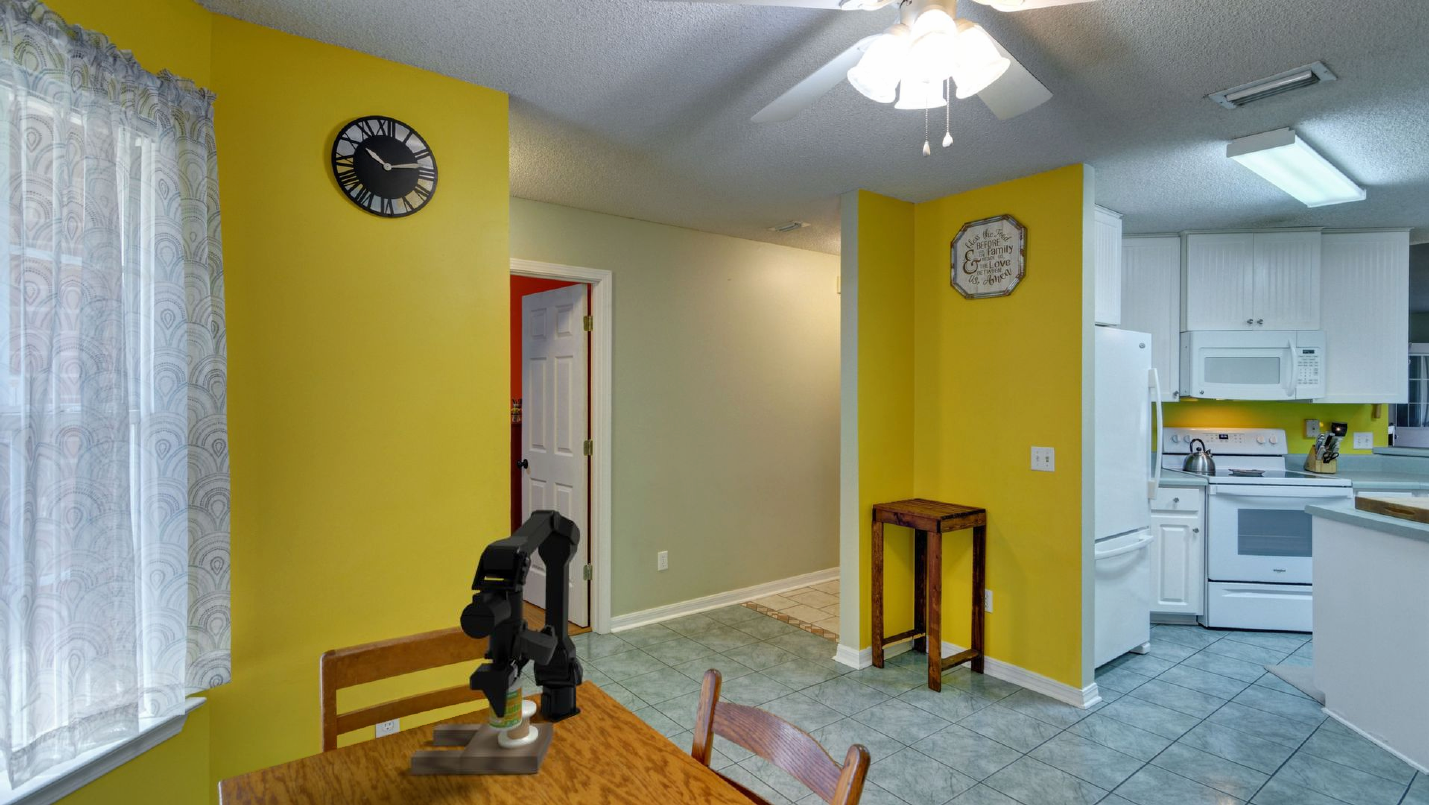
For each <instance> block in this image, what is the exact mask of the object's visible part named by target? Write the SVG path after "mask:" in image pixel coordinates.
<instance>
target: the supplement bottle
mask: <svg viewBox="0 0 1429 805" xmlns="http://www.w3.org/2000/svg"><path fill="white" fill-rule="evenodd" d="M512 666H513V667H514V668H515V676H514V677H517V665H516V664H513V665H512ZM522 700H523V681H522V680H521V677H520V678H519V677H518V678H517V680H516V681H515V682H514V684H513V685H512V686H511V687H510V688H509V691H508V698H507V704H506V710H505V716H504V717H503V718H498V717H497V716H496V714H495V712H494V710H493V708H492V707H491V705H490V703H489V702H488V724H489V726H490V728H491V729H493V730H496V731H507V730H511V729H514V728H516V727H518V726H519V725H520V724H521V722H522Z"/></svg>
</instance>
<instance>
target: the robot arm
mask: <svg viewBox="0 0 1429 805" xmlns="http://www.w3.org/2000/svg"><path fill="white" fill-rule="evenodd" d="M580 531H581V530H580V528H579V527H578V525H577V524H576V522H575V521H573V520H572V519H570V518H568V517H566V516H564V515H562V514H561V513H560V512H559V511H556V509H536V510H533V511H531V514H530V517H528V518H527V520H525V521H524V522H523V524H521V525H520V527H518V528H517V530H515V531H514V533H512V534H511V535H510V536H508V537H506V538H501V539H497V540H495V541H492V542H491V543H489V544H488V545H487V546H486V547H485V548H484V550H483V552H481V555H480V556H479V559H478V564H477V566H476V567H477V568H476V570H475V574H474V577H473V581H472V584H471V587H470V588H471V591H479V592H476V593H473V594H472V597H471V602H470V603H469V604H468V605H467V606H465V607H464V609H463V610H462V611H461V614H460V617H459V623H460V627H461V629H462V631H463V633H464V634H466V636H468V637H469V638H472V639H475V640H481V639H484V638H487V650H486V651H485V652H484V653H483V654H484V656H483V657H484V658H483V660H491V661H492V662H482V663H480V665H479V666H478V667H477V668H476V669H475V670H474V671H473V673H471V675H470V676H469V690H471V691H482V693H483V694H484V696H485V698H486V699H487V701H488V704H489V703H490V705H491V707H492V708H493V710H494V712H495V714H496V716H497V717H498V718H503V717H504V716H505V710H506V704H507V698H508V691H509V688H510V687H511V686H512V685H513V684H514V682H515V681H516V680H517V678H518V677H519V678H520V679H521V674H522V670H523V668H524V667H525V666H526V665H527V664H528V663H529V662H530V660H531V661H534V662H533V666H532V667H533V668H532V669H533V674H534V682H535V687H542V693H540V708H539V709H538V710H537V713H538V714H540V715H541V716H544V717H546V718H547V720H550V721H551V722H552V723H556V722H559V721H562V720H564V719H567V718H569V717H572V716H574V715H577V714H579V713H581V710H582V709H580V708H579V707H577V687H580V686H582V685H583V677H584V668H583V666H582V664H581V662H580V660H579V659H578V657H577V648H576V645H575V643H574V642H573V640H572V639H571V637H570V634H569V612H570V611H569V610H570V608H569V606H570V605H569V604H570V603H569V599H570V596H569V594H570V563H572V561H573V558H574V557H575V555H576V554H577V553H578V549H579V548H578V546H579V543H580V540H581V532H580ZM536 550H537V555H538V556H539V557H540V560H541V561H542V563H543V565H544V566H545V590H544V591H545V592H544V593H545V594H544V596H545V598H544V599H545V602H544V608H545V609H544V626H543V627H542V628H541V629H540V630H539V629H537V628H536V629H535V630H532V629H530V628H529V623H528V621H527V619H524V588H523V587H524V586H526V584H527V581H526V580H527V576H528V574H529V571H530V568H531V565H532V559H531V556H532V554H534V552H535V551H536ZM485 578H486V579H485ZM513 664H516V665H517V677H514V676H515V668H514V667H513V666H512V665H513Z"/></svg>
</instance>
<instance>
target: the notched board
mask: <svg viewBox="0 0 1429 805" xmlns="http://www.w3.org/2000/svg"><path fill="white" fill-rule="evenodd" d="M530 725H531V726H534V727H536V728H537V730H538V739H537V741H536V742H535V743H533V744H532V745H530V746H527V747H524V748H519V749H506V748H503V747H501V746H500V745H499V744H498V735H499V733H500V732H501V731H496V730H493V729H491V728H490V726H489V723H457V724H455V723H451V724H450V723H448V724H447V723H444V724H443V723H441V724H440V723H438V724H437V725H436V726H435V727H434V728H433V729H432V730H433V732H432V746H433V747H452V746H453V747H457V746H458V747H461V746H462V747H464V746H466V747H465V748H464V749H457V750H456V749H454V750H453V749H448V750H445V749H444V750H443V749H442V750H437V749H436V750H435V749H433V750H432V749H431V750H429V749H428V750H415V751H414V752H413V754H412V755H410V775H486V774H487V775H489V774H490V775H494V774H495V775H496V774H497V775H500V774H501V775H502V774H506V775H508V774H509V775H511V774H512V775H514V774H517V775H518V774H521V775H522V774H523V775H525V774H538V773H539V771H540V769H541V766H542V765H543V762H544V760H545V758H546V756H547V753H548V751H549V749H550V747H551V744H552V743H553V740H554V722H552V723H530Z"/></svg>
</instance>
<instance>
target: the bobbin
mask: <svg viewBox="0 0 1429 805" xmlns="http://www.w3.org/2000/svg"><path fill="white" fill-rule="evenodd" d="M536 712H537V704H536V703H535V702H534V701H532V700H529V699H528V700H527V699H522V722H521V724H520V725H519V726H518V727H516V728H514V729H511V730H507V731H501V732H500V733H499V735H498V744H499V745H500V746H501V747H503V748H506V749H519V748H524V747H527V746H530V745H532V744H533V743H535V742H536V741H537V739H538V730H537V728H536V727H534V726H531V725H530V724H531V723H530V717H532V716H534V714H535V713H536Z"/></svg>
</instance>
